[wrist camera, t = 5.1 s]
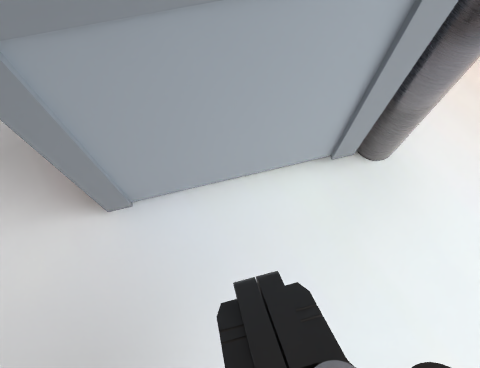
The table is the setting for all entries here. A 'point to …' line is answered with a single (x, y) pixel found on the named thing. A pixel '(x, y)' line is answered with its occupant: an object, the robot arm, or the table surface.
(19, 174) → the table surface
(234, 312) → the robot arm
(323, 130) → the gate
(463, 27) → the hinge post
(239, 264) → the table surface
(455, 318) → the table surface
